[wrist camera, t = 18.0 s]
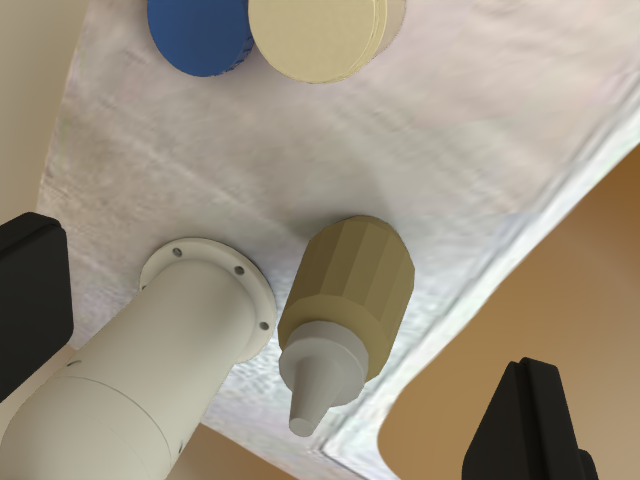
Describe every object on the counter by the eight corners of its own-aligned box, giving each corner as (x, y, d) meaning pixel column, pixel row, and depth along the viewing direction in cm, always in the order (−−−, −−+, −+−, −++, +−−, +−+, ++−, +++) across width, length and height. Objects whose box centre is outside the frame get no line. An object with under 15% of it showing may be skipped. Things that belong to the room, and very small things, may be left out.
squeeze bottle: (296, 256, 40) (192, 425, 25) (350, 179, 36) (268, 323, 21) (378, 312, 41) (327, 513, 25) (441, 242, 37) (427, 430, 21)
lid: (194, -66, 32) (180, -69, 30) (278, 13, 33) (268, 14, 31) (144, 25, 35) (128, 27, 34) (221, 94, 36) (209, 99, 34)
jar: (358, 81, 33) (319, 117, 24) (285, 13, 33) (216, 23, 23) (428, -1, 30) (413, 4, 21) (349, -79, 30) (298, -108, 20)
